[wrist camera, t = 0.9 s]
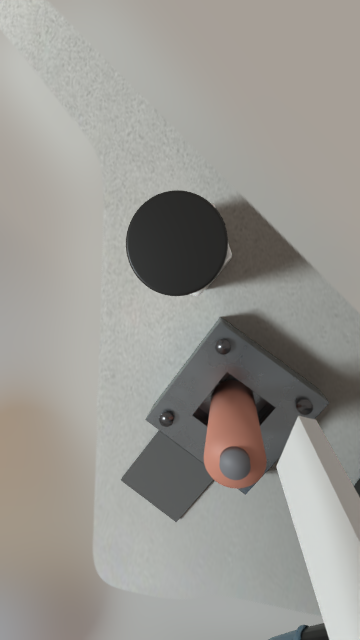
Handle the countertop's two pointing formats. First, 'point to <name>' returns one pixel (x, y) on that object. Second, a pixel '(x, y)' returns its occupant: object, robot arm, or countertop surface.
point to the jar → (177, 243)
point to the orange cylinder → (234, 437)
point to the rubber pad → (168, 476)
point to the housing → (241, 365)
